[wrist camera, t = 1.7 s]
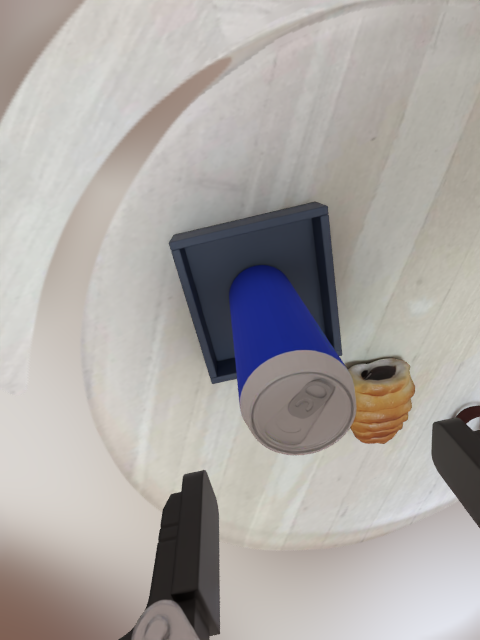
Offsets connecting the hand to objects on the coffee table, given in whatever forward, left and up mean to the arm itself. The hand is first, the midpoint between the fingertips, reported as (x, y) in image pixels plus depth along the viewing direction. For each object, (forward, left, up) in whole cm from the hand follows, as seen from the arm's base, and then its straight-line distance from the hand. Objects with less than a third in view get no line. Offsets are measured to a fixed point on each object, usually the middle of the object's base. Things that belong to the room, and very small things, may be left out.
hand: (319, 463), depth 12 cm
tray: (0, 0, -18) cm, 18 cm away
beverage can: (0, 0, -18) cm, 18 cm away
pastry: (+13, +9, -18) cm, 24 cm away
